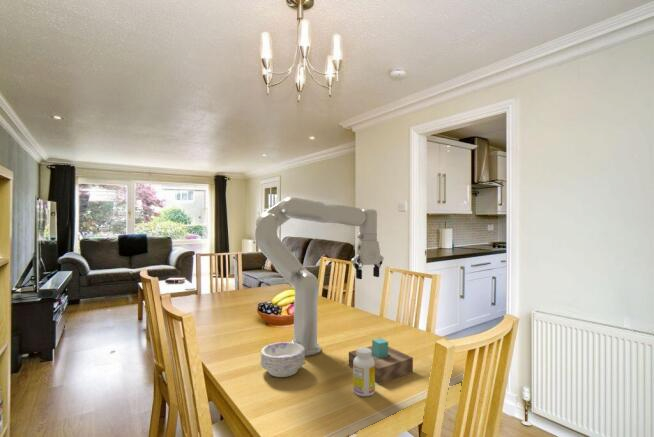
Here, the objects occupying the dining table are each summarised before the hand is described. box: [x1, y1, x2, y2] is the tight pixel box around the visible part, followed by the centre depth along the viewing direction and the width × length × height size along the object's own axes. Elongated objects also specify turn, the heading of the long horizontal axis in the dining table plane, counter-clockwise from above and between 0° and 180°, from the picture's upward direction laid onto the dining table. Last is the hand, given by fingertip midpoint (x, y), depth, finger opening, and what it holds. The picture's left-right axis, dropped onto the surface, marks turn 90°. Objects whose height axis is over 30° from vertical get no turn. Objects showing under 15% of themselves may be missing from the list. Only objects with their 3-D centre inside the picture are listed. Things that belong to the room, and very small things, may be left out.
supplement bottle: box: [352, 347, 376, 397], centre depth 102 cm, size 7×7×13 cm
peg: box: [371, 337, 389, 359], centre depth 118 cm, size 4×4×10 cm
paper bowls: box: [260, 341, 306, 378], centre depth 116 cm, size 15×15×8 cm
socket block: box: [348, 345, 414, 385], centre depth 118 cm, size 16×16×5 cm
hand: (367, 277), depth 142 cm, fingers open, 9 cm apart
